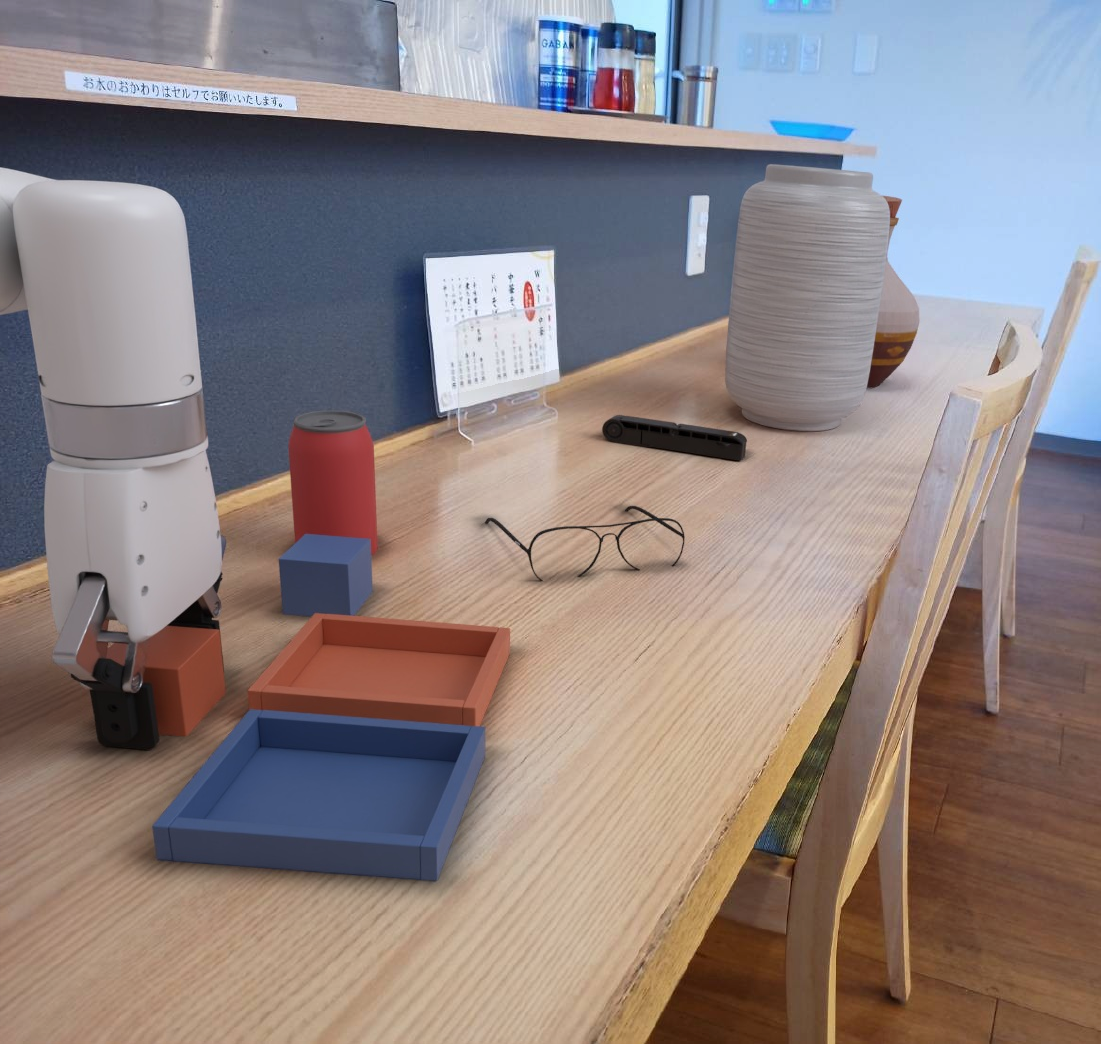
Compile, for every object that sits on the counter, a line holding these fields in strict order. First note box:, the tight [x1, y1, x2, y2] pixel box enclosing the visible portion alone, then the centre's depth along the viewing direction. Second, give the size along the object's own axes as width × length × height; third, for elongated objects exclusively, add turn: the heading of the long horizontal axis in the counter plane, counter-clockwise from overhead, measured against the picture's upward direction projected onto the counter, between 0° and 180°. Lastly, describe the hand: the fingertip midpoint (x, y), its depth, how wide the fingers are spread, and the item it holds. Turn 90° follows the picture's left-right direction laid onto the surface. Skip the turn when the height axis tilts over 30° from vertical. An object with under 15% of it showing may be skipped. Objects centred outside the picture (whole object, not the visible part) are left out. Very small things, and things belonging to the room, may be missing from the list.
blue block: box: [278, 534, 374, 618], centre depth 74 cm, size 5×5×5 cm
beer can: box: [287, 409, 379, 556], centre depth 82 cm, size 7×7×12 cm
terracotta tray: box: [247, 613, 511, 727], centre depth 64 cm, size 14×11×3 cm
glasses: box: [484, 505, 685, 582], centre depth 90 cm, size 14×15×5 cm
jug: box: [867, 195, 921, 389], centre depth 163 cm, size 20×18×30 cm
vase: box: [724, 163, 890, 432], centre depth 135 cm, size 20×20×34 cm
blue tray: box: [151, 709, 486, 882], centre depth 53 cm, size 14×11×3 cm
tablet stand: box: [601, 414, 748, 461], centre depth 121 cm, size 18×3×3 cm, turn 74°
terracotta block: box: [106, 626, 227, 737], centre depth 59 cm, size 5×5×5 cm
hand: (165, 706), depth 60 cm, fingers open, 7 cm apart
